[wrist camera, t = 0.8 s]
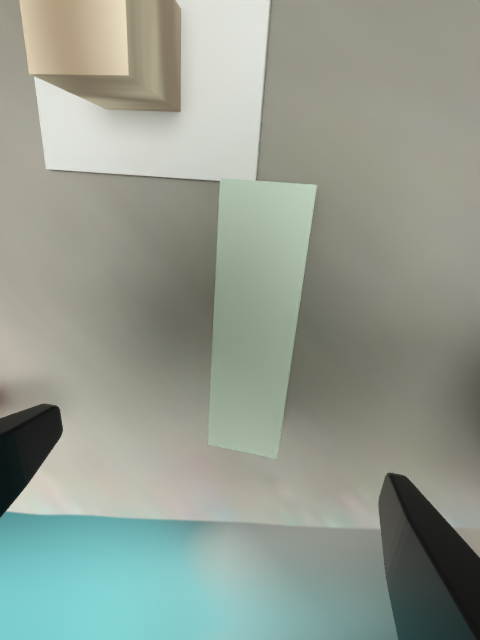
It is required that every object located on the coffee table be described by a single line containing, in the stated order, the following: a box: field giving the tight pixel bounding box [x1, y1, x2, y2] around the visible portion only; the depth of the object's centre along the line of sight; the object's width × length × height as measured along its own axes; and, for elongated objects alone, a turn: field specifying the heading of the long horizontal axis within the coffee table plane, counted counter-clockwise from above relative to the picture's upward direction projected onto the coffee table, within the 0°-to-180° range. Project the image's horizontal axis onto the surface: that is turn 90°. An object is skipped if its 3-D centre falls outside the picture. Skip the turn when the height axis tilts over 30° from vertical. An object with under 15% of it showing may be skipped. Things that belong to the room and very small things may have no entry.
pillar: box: [20, 0, 181, 112], centre depth 13 cm, size 4×4×5 cm
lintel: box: [207, 178, 317, 459], centre depth 18 cm, size 4×14×4 cm, turn 176°
